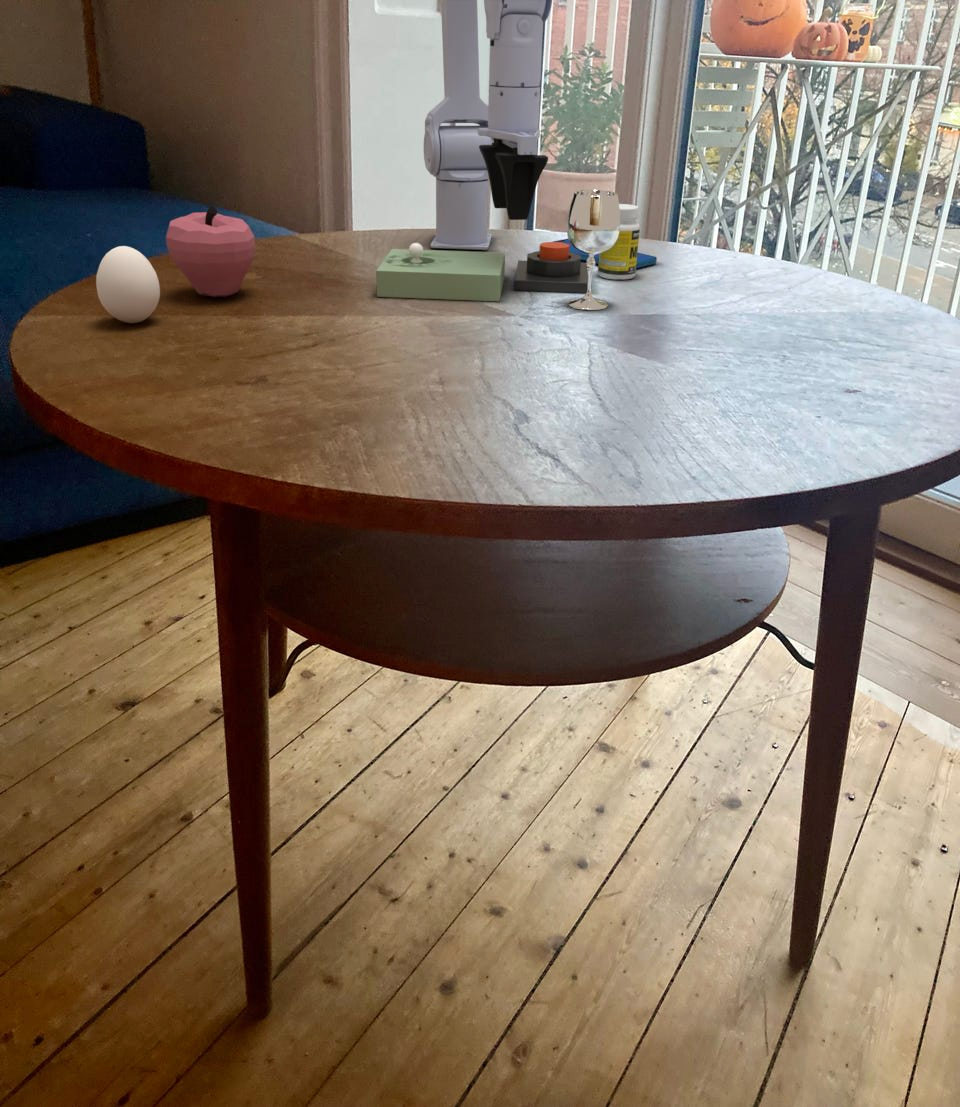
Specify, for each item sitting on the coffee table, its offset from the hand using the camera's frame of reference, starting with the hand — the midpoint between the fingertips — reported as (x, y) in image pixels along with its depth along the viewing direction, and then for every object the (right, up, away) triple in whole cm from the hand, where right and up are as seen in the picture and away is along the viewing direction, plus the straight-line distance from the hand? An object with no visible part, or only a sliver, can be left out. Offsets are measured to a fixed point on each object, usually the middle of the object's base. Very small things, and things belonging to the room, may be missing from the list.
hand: (510, 213), depth 117 cm
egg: (-39, -16, -15) cm, 45 cm away
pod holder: (-8, -8, +1) cm, 12 cm away
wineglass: (+9, -12, -5) cm, 16 cm away
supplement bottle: (+14, -5, +8) cm, 17 cm away
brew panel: (+5, -7, +5) cm, 10 cm away
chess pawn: (-11, -8, +2) cm, 14 cm away
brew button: (+5, -4, +4) cm, 8 cm away
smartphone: (+12, 0, +17) cm, 21 cm away
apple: (-33, -11, -4) cm, 35 cm away
